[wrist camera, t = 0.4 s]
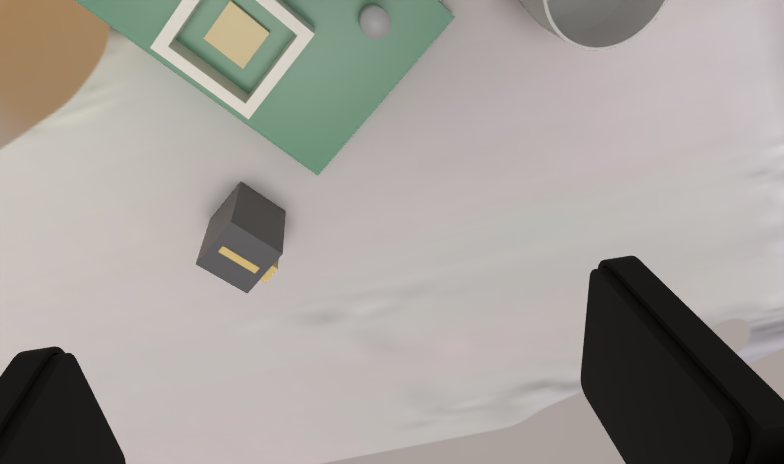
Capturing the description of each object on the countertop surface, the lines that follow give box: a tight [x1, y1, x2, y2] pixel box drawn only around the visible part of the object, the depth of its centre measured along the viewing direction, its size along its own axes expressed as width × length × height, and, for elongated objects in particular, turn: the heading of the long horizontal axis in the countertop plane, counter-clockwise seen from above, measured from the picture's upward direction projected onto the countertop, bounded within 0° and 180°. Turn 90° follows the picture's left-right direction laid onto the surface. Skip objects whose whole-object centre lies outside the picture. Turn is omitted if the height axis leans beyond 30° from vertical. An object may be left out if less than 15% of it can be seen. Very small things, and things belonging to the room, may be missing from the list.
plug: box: [196, 182, 285, 293], centre depth 44 cm, size 5×4×7 cm
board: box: [75, 0, 454, 175], centre depth 37 cm, size 22×16×4 cm
